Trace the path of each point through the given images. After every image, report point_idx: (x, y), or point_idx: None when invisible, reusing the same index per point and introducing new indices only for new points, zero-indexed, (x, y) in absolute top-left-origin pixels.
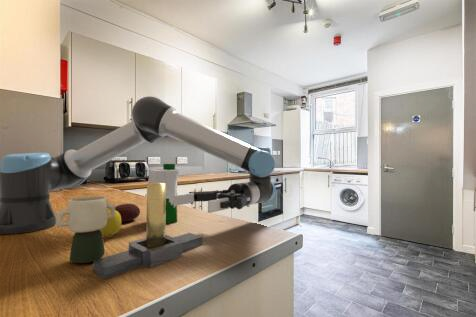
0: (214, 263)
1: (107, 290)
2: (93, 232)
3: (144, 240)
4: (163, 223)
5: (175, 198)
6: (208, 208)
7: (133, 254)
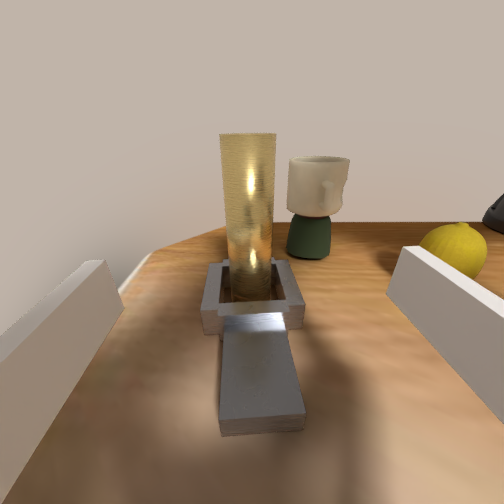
0: (101, 362)
1: (204, 250)
2: (297, 215)
3: (278, 274)
4: (228, 246)
5: (399, 262)
6: (113, 292)
7: None
